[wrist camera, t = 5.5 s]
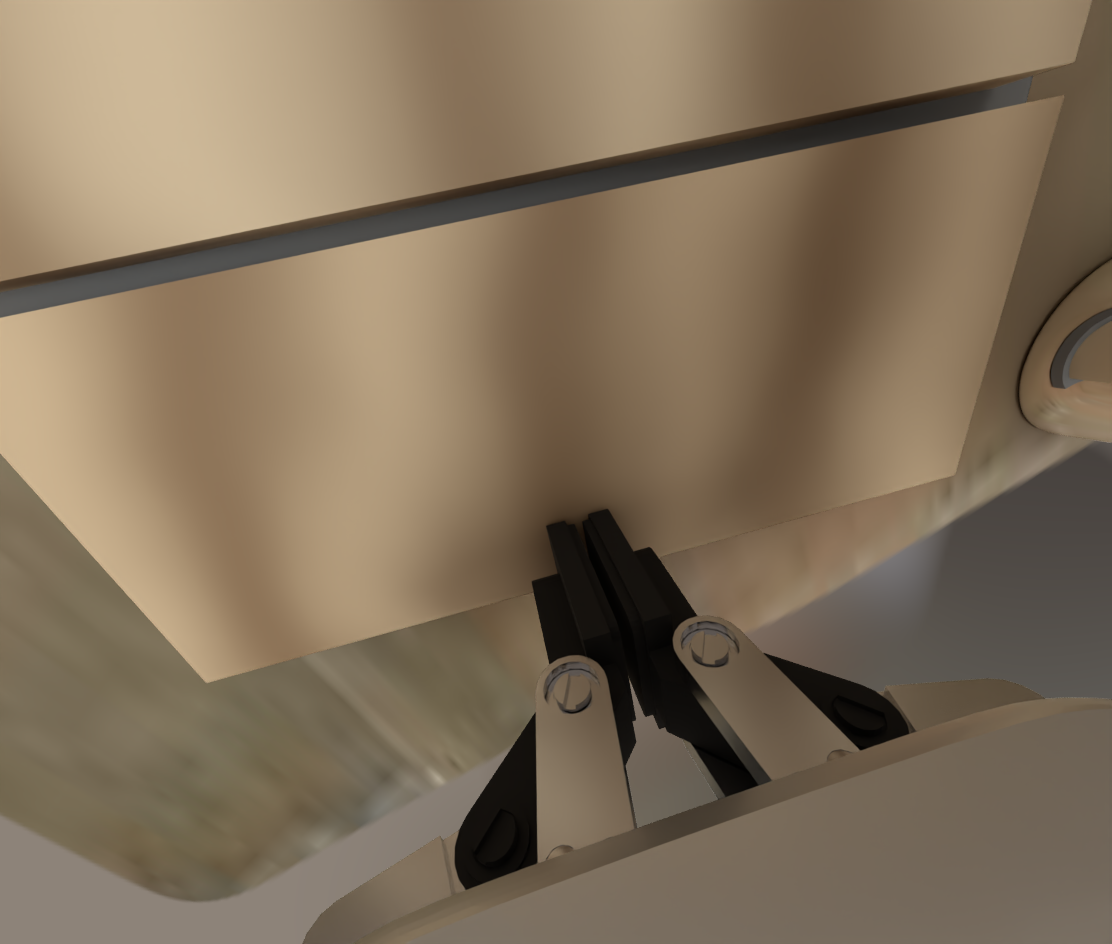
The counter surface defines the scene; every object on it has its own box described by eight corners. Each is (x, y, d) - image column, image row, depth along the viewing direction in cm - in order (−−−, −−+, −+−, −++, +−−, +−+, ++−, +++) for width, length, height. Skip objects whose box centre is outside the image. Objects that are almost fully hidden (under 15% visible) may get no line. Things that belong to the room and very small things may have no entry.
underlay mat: (1232, -819, 6) (1281, -887, 5) (919, 468, 15) (930, 473, 15) (-946, -747, 4) (-1081, -842, 4) (223, 659, 13) (217, 670, 13)
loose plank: (987, 115, 10) (1065, 94, 9) (910, 454, 14) (955, 474, 13) (-14, 326, 8) (-103, 339, 7) (233, 638, 13) (206, 683, 11)
